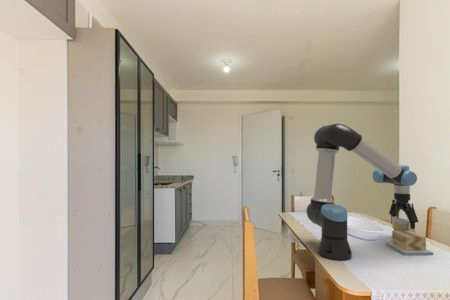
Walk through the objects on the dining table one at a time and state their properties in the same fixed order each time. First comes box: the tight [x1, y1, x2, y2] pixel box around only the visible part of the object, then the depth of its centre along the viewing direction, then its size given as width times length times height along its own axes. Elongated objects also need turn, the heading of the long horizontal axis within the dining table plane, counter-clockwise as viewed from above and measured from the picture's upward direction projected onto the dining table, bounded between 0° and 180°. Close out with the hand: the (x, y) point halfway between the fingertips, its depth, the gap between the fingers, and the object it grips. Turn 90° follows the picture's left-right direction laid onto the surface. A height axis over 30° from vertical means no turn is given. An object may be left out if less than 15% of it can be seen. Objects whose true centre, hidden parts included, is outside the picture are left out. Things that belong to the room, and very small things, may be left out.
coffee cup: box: [392, 217, 409, 231], centre depth 148 cm, size 9×9×12 cm
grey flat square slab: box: [385, 242, 434, 256], centre depth 135 cm, size 14×14×1 cm
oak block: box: [391, 230, 427, 251], centre depth 135 cm, size 10×10×7 cm
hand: (403, 231), depth 148 cm, fingers open, 13 cm apart
